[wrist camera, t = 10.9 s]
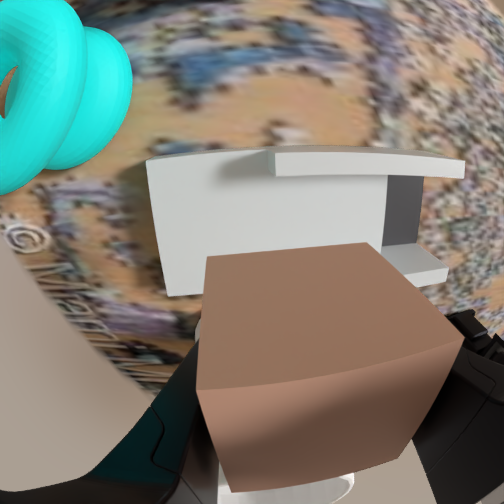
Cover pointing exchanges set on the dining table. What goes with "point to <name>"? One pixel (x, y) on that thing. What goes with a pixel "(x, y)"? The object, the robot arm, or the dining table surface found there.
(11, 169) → the donuts
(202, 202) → the grey channel
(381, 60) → the dining table surface
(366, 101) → the dining table surface
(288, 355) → the terracotta cube
